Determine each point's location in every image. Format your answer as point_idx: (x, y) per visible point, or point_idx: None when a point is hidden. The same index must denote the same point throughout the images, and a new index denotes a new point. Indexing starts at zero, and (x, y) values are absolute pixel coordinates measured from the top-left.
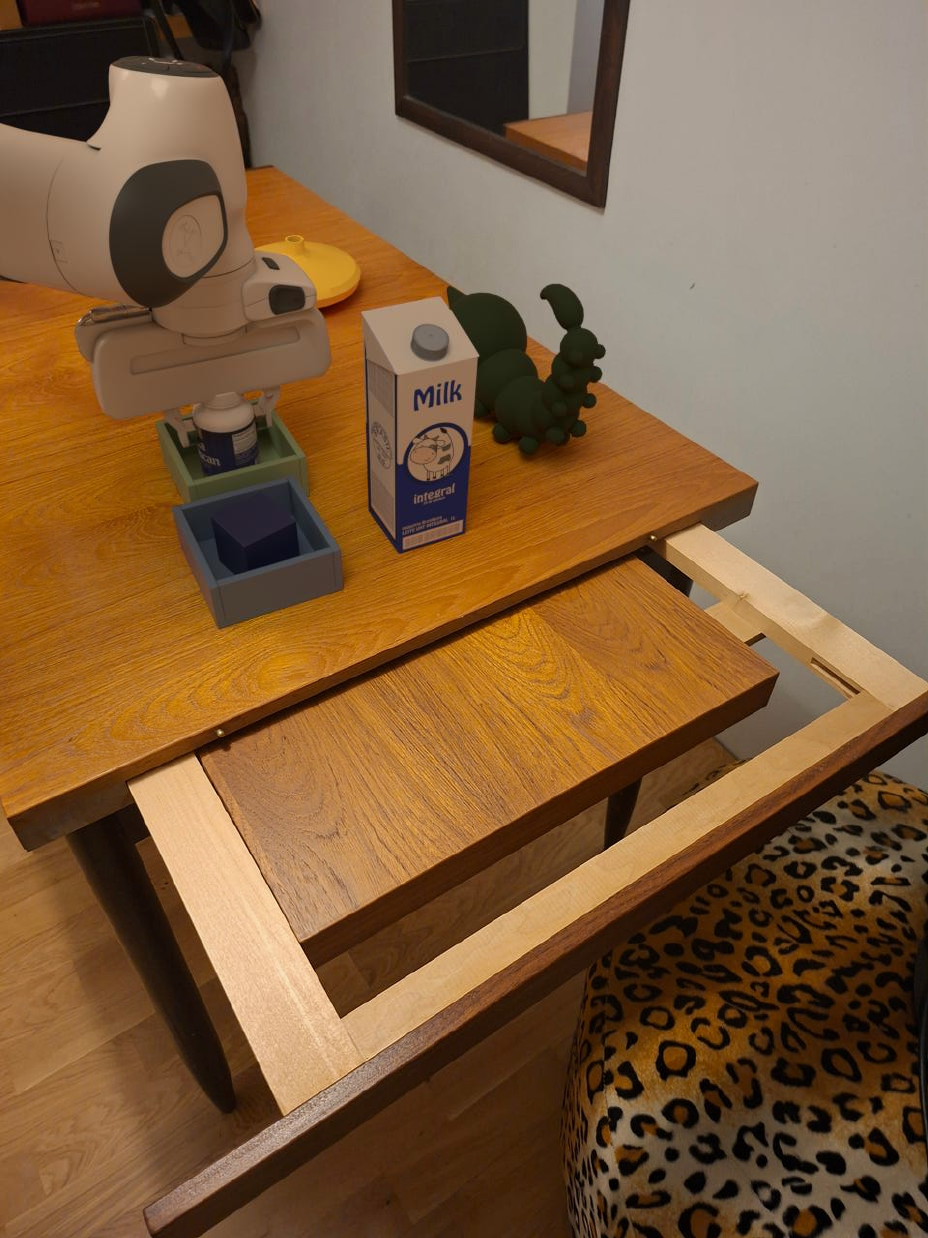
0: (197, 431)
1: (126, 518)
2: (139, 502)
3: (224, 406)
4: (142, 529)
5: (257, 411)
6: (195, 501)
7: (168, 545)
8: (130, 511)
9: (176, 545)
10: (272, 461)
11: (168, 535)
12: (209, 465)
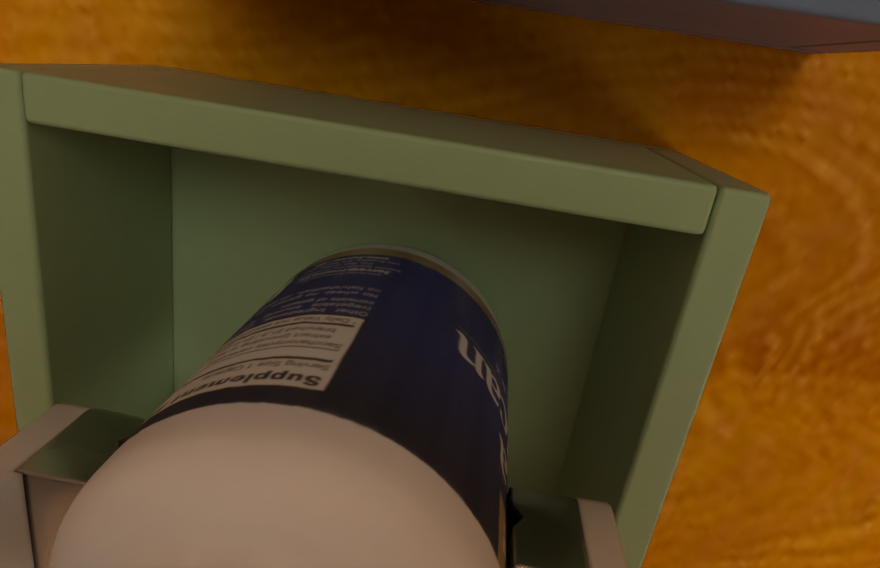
0: (514, 552)
1: (863, 359)
2: (763, 415)
3: None
4: (859, 264)
5: (62, 518)
6: (836, 7)
7: (843, 103)
8: (823, 387)
9: (816, 82)
10: (186, 135)
11: (800, 167)
12: (496, 372)
